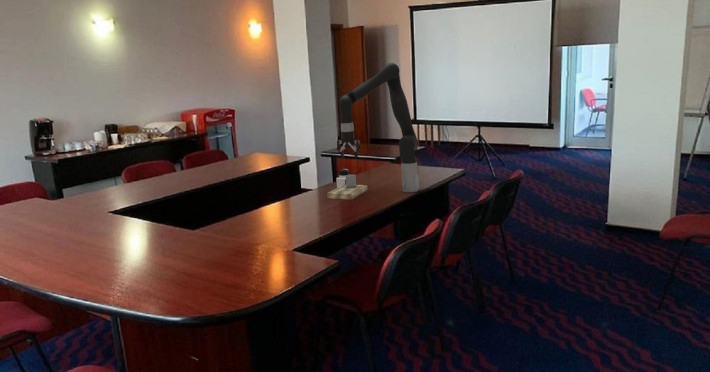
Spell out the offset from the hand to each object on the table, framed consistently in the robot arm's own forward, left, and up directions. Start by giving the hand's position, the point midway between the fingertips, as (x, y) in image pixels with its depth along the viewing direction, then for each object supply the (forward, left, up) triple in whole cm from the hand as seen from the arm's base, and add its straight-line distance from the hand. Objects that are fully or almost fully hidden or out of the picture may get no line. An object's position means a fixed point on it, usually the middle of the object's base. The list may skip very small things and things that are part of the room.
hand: (349, 157), depth 333 cm
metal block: (0, 0, -21) cm, 21 cm away
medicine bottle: (+10, -11, -22) cm, 27 cm away
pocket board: (0, +6, -22) cm, 22 cm away
